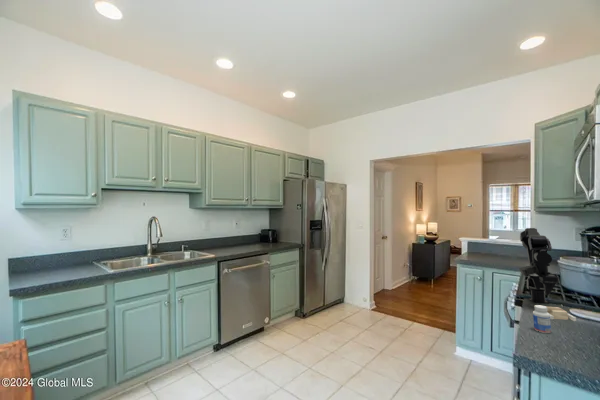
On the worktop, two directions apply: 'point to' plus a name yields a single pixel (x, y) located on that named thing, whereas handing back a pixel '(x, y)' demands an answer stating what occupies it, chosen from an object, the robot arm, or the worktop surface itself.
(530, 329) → the worktop surface
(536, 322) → the pill bottle
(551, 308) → the birch block
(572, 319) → the channel
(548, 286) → the robot arm
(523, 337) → the worktop surface
